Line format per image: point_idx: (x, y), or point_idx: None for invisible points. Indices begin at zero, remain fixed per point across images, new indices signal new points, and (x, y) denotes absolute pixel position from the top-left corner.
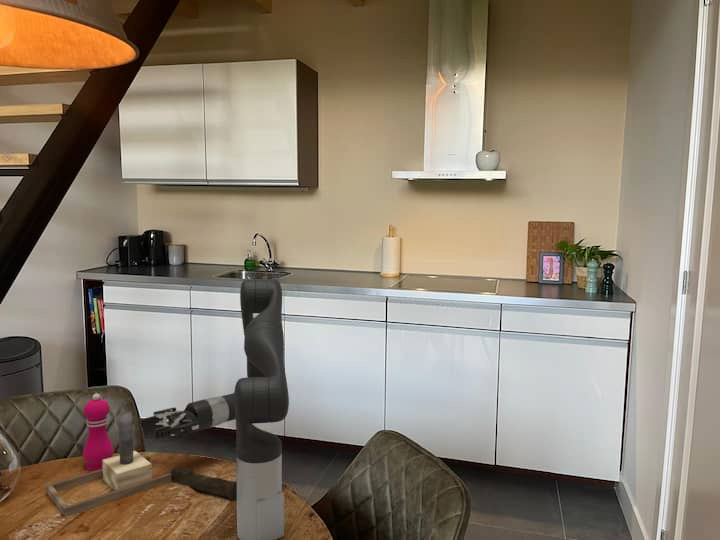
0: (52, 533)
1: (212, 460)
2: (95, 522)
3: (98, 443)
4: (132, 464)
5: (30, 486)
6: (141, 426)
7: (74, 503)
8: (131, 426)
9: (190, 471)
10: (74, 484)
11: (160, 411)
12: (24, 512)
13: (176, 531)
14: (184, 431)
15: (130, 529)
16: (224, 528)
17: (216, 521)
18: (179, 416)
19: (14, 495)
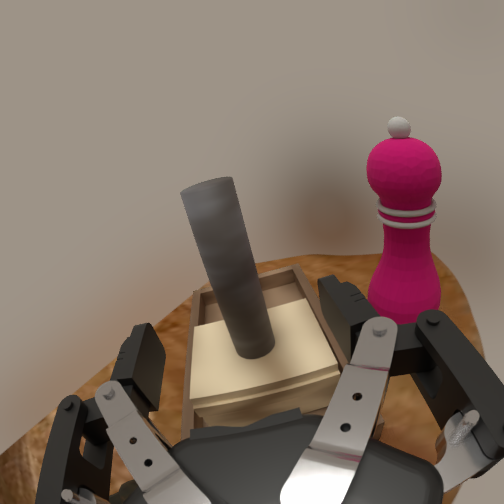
0: (184, 301)
1: None
2: (167, 338)
3: (379, 268)
4: (225, 356)
5: (353, 261)
6: (321, 305)
7: (199, 298)
8: (202, 246)
9: (122, 498)
10: (304, 298)
11: (447, 343)
12: (267, 271)
13: (53, 414)
14: (100, 468)
15: (109, 372)
16: (10, 457)
17: (26, 463)
18: (178, 466)
19: (329, 255)
